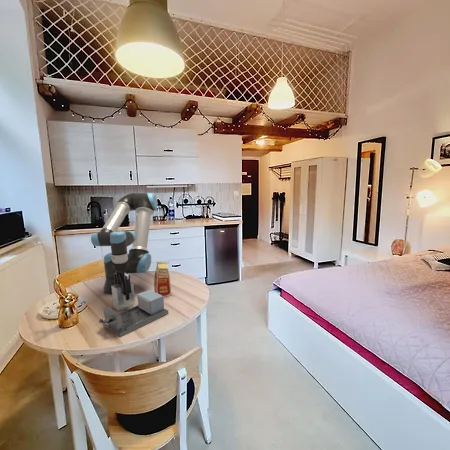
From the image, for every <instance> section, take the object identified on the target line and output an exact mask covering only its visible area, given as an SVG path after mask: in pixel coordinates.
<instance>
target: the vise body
mask: <svg viewBox="0 0 450 450" xmlns="http://www.w3.org/2000/svg"><path fill="white" fill-rule="evenodd" d="M168 314H169V310H168V309H167V308H164V310H161V311H159V312H157V313H155V314H153V315H151V314H149V313H148V312H146V311H144V310H142V309H141V308H139V307H138V304H137V305H133V306H131V307H129V308H128V309H127V308H126V309H124V310H121V311H119V312H117V311H116V310H114V309H113V308H111V307H110V306H106V307H103V315H104V319H103V318H99V319H98V323H99V324H103V325H104V326H105V328H106V329H109V330H111V331H112V332H113V333H114V334H116V335H117V336H119V337H121V338H122V337H123V336H125V335H127V334H130V333H131V332H133V331H135V330H137V329H140V328H142V327H145V325H147V324H150V323H152V322H153V321H156V320H159V319H160V318H162V317H164V316H166V315H168Z"/></svg>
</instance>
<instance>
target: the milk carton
mask: <svg viewBox="0 0 450 450" xmlns="http://www.w3.org/2000/svg"><path fill="white" fill-rule="evenodd" d="M169 263H170V262H169V261H167V262H162V261H161V262H160V261H156V267H155V272H154V278H153V279H154V280H153V289H154V290H153V291H154V292H156V293H158V294H160V295H162V296H163V298H166V296H167V297H169V296H172V284H171V278H170V277H171V276H170V272H169Z"/></svg>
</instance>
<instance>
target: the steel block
mask: <svg viewBox="0 0 450 450" xmlns="http://www.w3.org/2000/svg"><path fill="white" fill-rule="evenodd" d="M130 283H131V291H132V293H130V294H129V297H130V305H128V306H125V304H124V295H123V294H124V290H123V286H122V283H120V284H116V285H112V286H111V287H112V294H111V297H112V304H113V305H112V306H113V308H114V309H115V310H117V311H119V312H121V311H124V310H126V309H127V308H128V309H129V308H131V307H133V306H136V297H135V287H134V285H135V284H134V282H132V281H130Z"/></svg>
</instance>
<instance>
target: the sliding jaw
mask: <svg viewBox="0 0 450 450" xmlns="http://www.w3.org/2000/svg"><path fill="white" fill-rule="evenodd" d="M137 305H138V307H139V308H141V309H142V310H144V311H146V312H148V313H149V314H151V315H153V314H155V313H157V312H159V311H161V310H164V309H165V301H164V297H163V296H162V295H160V294H158V293H156V292H155V291H154V290H152V289H148V290H145V291H143V292H140V293H138V294H137Z"/></svg>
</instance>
